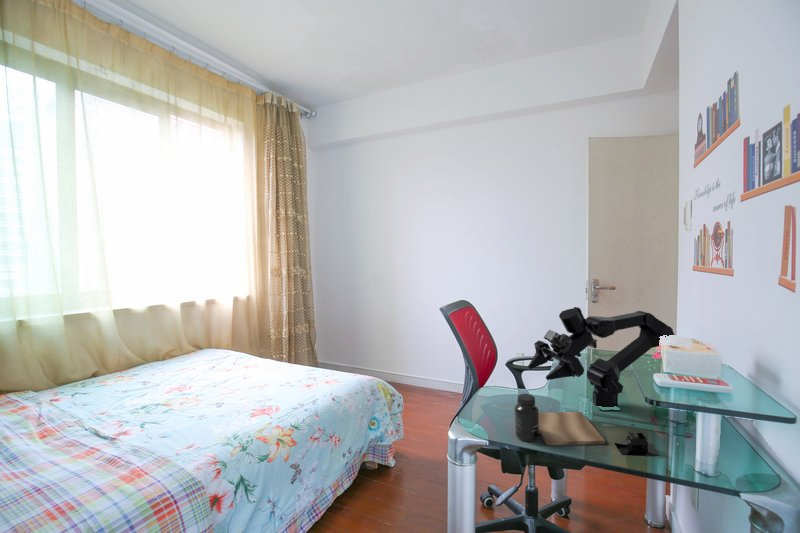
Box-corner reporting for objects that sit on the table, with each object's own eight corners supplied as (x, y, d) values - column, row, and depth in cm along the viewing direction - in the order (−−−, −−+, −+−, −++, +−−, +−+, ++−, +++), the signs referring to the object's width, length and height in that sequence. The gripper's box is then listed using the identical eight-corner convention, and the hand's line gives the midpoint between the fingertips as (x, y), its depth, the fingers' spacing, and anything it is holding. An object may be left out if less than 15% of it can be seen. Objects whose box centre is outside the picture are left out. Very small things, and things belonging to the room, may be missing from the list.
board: (581, 414, 119) (581, 411, 119) (605, 443, 103) (605, 440, 103) (530, 416, 121) (530, 413, 120) (546, 445, 105) (546, 441, 105)
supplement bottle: (541, 443, 106) (540, 403, 105) (516, 441, 107) (515, 402, 106) (537, 429, 113) (536, 392, 111) (514, 428, 114) (512, 391, 113)
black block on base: (655, 444, 103) (656, 429, 102) (670, 461, 95) (670, 444, 95) (607, 442, 105) (607, 427, 104) (617, 459, 98) (617, 442, 97)
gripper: (545, 317, 126) (509, 344, 123) (585, 331, 108) (544, 363, 105) (559, 343, 128) (524, 369, 126) (600, 361, 110) (561, 393, 108)
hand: (537, 373), depth 116 cm, fingers open, 9 cm apart
